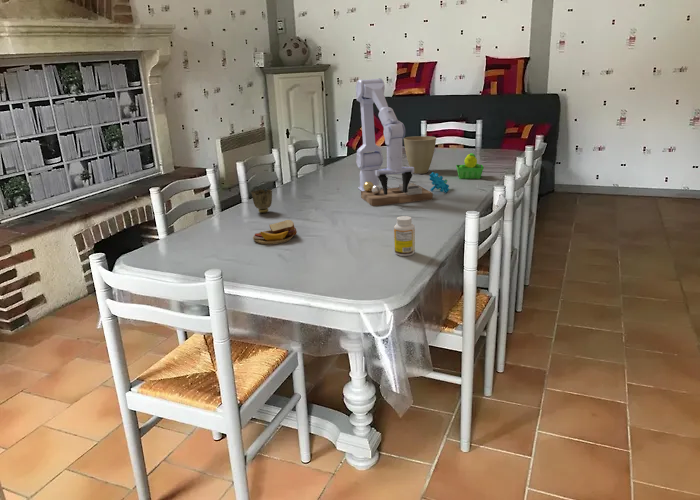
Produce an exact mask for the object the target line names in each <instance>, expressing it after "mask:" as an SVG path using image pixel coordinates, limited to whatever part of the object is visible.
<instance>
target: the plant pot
mask: <svg viewBox="0 0 700 500" xmlns="http://www.w3.org/2000/svg"><path fill="white" fill-rule="evenodd" d="M436 142H437V137H435V136H429V135H428V136H427V135H421V136H406V137H404V138H403V144H404V145H403V146H404V150H405V155H406V159H407V163H408V167H414V173H413V174H416V175H420V174H421V175H422V174H427V173H428V172H429V169H430V167H431V163H432V161H433V158H434V153H435V148H436Z"/></svg>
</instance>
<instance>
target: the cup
mask: <svg viewBox="0 0 700 500" xmlns="http://www.w3.org/2000/svg"><path fill="white" fill-rule="evenodd" d="M251 197H252V201H253V202H252V203H253V205H254V207H255V208H256V209H258V210H257V211H258V213H259V214H267V213H269V212H270V211H269V208H270V207H272V202H273V190H272V189H266V190H265V188H263V189H262V188H259V189H255V190H253V191H251Z"/></svg>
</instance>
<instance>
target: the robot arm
mask: <svg viewBox="0 0 700 500" xmlns="http://www.w3.org/2000/svg"><path fill="white" fill-rule="evenodd" d="M385 89H386V87H385V81H384V80H383V79H382V78H381V77H380V78H369V79H362V78H361V79H358V80H357V82H356V85H355V97H356V102H359V103H360V104H359V105H360V119H361V132H362V133H361V135H362V145H360V147H359V148H357V150H356V157H355V161H356V166H357V168H358V169H359V170H360V171H359V186H358V187H357V189H358V190H360V192H361V191H365V190H364V188H363V185H364V183H365V182H368V181H369V182H372V183H373V185H378V186H380V184H381V187H382V189H383V191H384V194H385V195H387V189H388V182H389V181H388V179H389V178H388V177H387V175H397V174H401V178H402V184H403V192H404V193H406V192H407V187H408V184H409V183H410V181H411V179H412V177H413V174H415V173H414V167H410V166H403V140H404V138H406V137H405V136H406V127H405V125H404V123H403V122H401V121H400V120H398V118H397V116H396V115H397V114H396V113H395V112H394V109H393V108H392V107H389V104H388V102H387V100H386V96H385ZM374 104H375V106H376V108H377V110H378V111H379V112H378V118H379V120H380V122H381V125H382V127H383V130H382V131H383V137H384V143H385V145H386V168H381V167H382V166H383V163H384V157H383V154H382V153H383V151H382V149H381V147H380V146H378V145H377V144H376V135H375V118H374Z"/></svg>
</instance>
